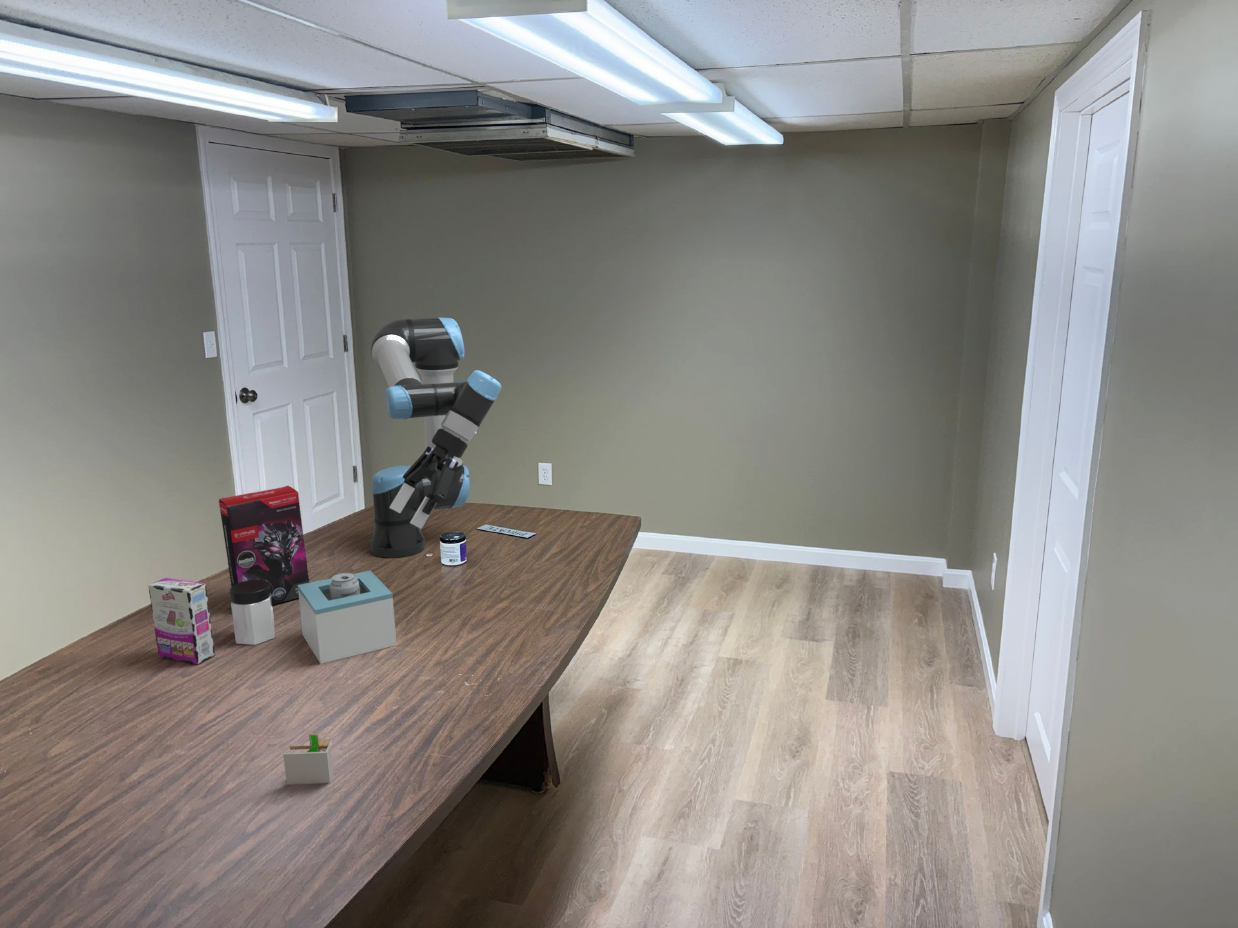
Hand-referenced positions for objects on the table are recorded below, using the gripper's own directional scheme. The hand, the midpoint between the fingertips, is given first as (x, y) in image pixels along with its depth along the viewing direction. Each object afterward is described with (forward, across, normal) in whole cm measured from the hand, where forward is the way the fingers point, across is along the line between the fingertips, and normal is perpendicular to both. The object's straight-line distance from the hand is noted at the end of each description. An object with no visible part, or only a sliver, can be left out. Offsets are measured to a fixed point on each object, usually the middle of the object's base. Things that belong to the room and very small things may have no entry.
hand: (404, 518), depth 193 cm
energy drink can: (+29, -1, -4) cm, 29 cm away
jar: (+39, +13, +10) cm, 42 cm away
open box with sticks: (+42, -48, +12) cm, 65 cm away
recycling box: (+29, 0, -4) cm, 29 cm away
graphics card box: (+35, +32, +4) cm, 47 cm away
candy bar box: (+48, +11, +21) cm, 53 cm away
